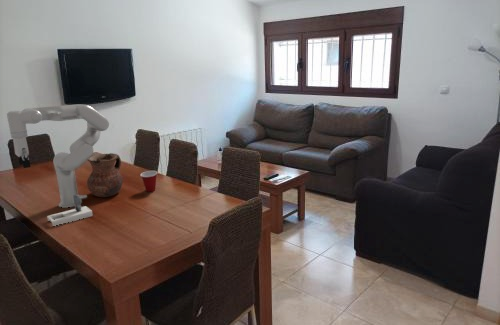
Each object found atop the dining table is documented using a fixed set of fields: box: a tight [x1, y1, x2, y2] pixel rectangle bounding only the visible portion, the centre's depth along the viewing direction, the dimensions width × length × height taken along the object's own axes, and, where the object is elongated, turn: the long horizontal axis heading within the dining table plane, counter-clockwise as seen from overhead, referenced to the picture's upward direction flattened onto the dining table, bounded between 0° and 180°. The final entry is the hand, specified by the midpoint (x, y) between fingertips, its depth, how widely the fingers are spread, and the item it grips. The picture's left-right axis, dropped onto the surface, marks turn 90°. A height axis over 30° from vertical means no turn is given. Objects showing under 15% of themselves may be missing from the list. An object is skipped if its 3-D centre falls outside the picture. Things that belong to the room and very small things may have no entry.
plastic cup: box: [140, 170, 158, 193], centre depth 241 cm, size 11×11×12 cm
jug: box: [86, 152, 124, 198], centre depth 235 cm, size 22×21×25 cm
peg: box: [73, 194, 82, 212], centre depth 202 cm, size 4×4×12 cm
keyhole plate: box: [46, 205, 94, 227], centre depth 200 cm, size 20×10×3 cm, turn 132°
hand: (24, 165), depth 200 cm, fingers open, 9 cm apart
